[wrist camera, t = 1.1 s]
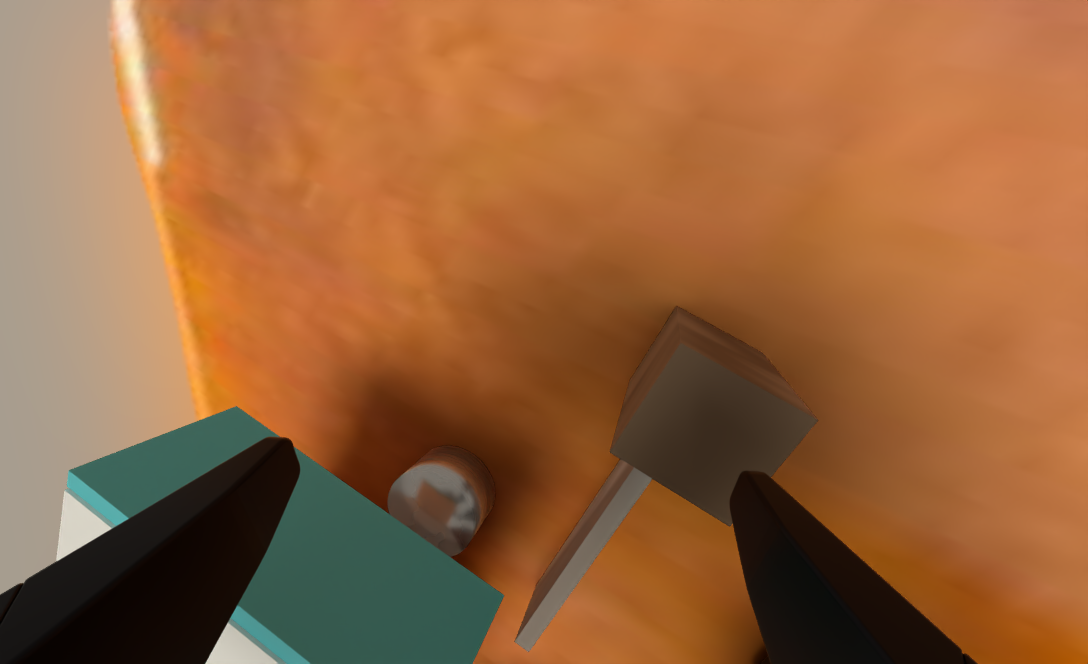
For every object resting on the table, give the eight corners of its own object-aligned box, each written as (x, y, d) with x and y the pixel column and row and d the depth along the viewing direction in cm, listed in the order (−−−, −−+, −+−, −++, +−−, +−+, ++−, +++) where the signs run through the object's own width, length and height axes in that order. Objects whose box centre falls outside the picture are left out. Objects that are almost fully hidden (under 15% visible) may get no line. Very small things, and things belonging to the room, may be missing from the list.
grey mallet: (762, 352, 18) (818, 420, 11) (573, 611, 23) (535, 759, 16) (676, 305, 18) (681, 342, 12) (511, 568, 24) (450, 695, 17)
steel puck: (510, 476, 22) (488, 507, 20) (474, 538, 24) (450, 575, 21) (436, 428, 23) (406, 452, 21) (407, 491, 25) (375, 521, 22)
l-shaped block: (559, 477, 21) (426, 762, 10) (452, 650, 26) (274, 986, 14) (369, 355, 23) (64, 472, 12) (300, 537, 28) (31, 753, 16)
